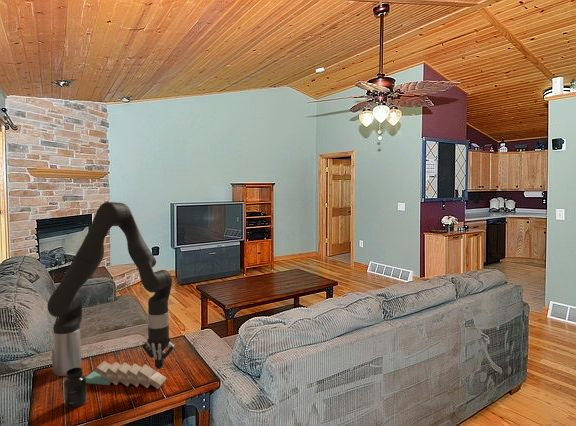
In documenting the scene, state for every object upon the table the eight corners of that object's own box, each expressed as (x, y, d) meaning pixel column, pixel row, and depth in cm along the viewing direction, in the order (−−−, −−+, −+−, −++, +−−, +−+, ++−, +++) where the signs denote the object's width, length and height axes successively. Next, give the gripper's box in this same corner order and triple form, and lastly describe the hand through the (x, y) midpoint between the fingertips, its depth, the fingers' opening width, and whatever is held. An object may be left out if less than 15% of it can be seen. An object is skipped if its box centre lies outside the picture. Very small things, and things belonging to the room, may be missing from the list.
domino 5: (147, 388, 141) (125, 373, 141) (153, 381, 146) (132, 367, 146) (150, 384, 141) (128, 369, 141) (156, 377, 145) (135, 363, 146)
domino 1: (109, 385, 143) (85, 383, 144) (117, 378, 148) (93, 376, 149) (109, 380, 142) (85, 378, 144) (116, 373, 147) (93, 371, 149)
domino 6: (158, 389, 140) (136, 374, 141) (164, 382, 145) (142, 368, 146) (160, 384, 140) (138, 370, 141) (166, 378, 145) (145, 364, 146)
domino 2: (116, 385, 142) (94, 371, 142) (123, 378, 147) (102, 364, 147) (118, 381, 142) (96, 367, 142) (125, 374, 147) (104, 360, 147)
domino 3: (127, 386, 142) (105, 372, 142) (134, 379, 147) (113, 365, 147) (130, 382, 142) (108, 367, 142) (136, 375, 146) (115, 361, 147)
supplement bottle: (70, 398, 134) (69, 365, 133) (90, 397, 134) (89, 365, 133) (60, 409, 127) (59, 376, 126) (81, 409, 128) (80, 375, 127)
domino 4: (137, 387, 141) (115, 372, 142) (143, 380, 146) (122, 366, 147) (139, 383, 141) (117, 368, 142) (146, 376, 146) (124, 362, 146)
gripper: (179, 321, 143) (179, 364, 145) (146, 319, 145) (147, 361, 147) (171, 328, 136) (171, 374, 138) (136, 326, 138) (137, 371, 139)
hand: (159, 367), depth 142 cm, fingers closed
